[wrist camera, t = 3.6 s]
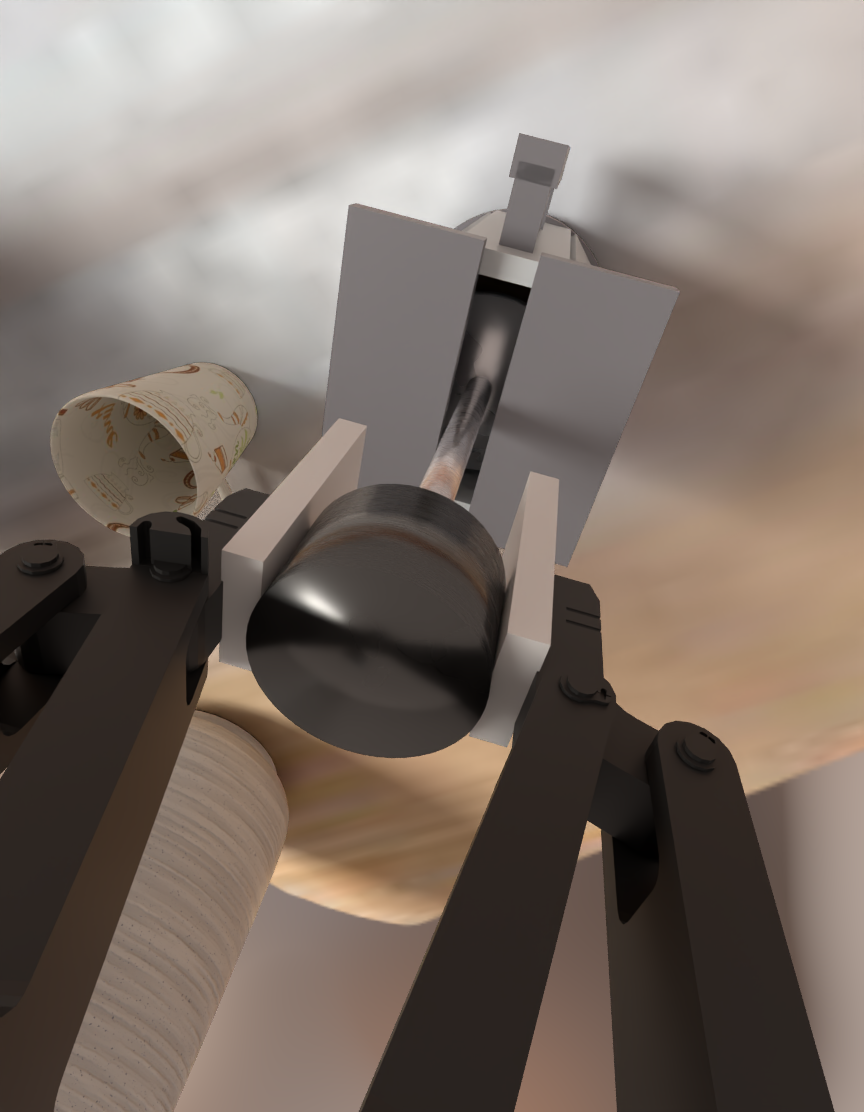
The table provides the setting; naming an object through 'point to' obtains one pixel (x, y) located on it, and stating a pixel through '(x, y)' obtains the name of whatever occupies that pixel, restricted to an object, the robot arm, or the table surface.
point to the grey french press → (538, 359)
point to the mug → (153, 443)
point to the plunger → (397, 587)
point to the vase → (180, 924)
